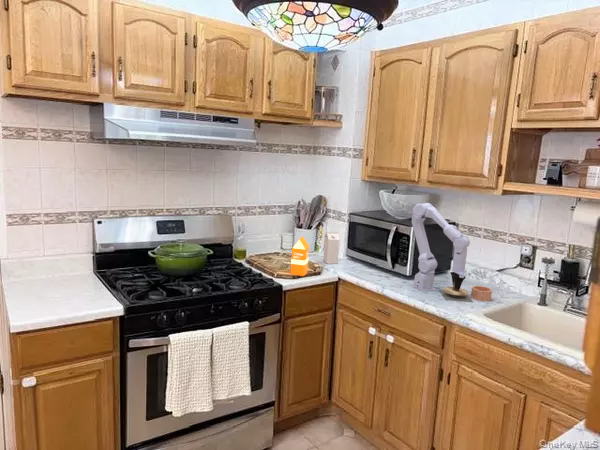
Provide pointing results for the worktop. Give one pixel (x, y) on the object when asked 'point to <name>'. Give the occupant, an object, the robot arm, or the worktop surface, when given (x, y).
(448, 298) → the mat
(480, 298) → the bowl
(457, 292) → the lid
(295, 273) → the orange juice
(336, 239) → the milk carton
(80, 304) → the worktop surface
